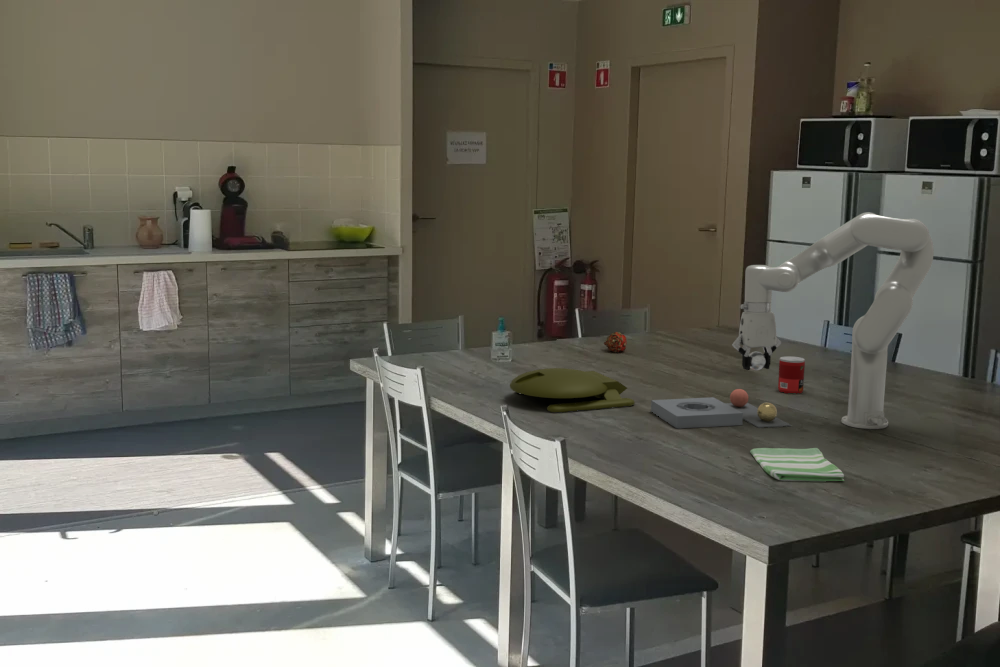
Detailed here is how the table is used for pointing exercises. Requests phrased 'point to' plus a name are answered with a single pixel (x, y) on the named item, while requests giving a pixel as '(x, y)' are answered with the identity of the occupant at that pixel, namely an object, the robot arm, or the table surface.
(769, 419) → the brass ball
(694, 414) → the board
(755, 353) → the steel ball
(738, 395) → the rubber ball
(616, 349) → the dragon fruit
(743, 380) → the table surface
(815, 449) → the dish towel
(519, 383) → the spaceship
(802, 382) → the canned food
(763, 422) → the mat
